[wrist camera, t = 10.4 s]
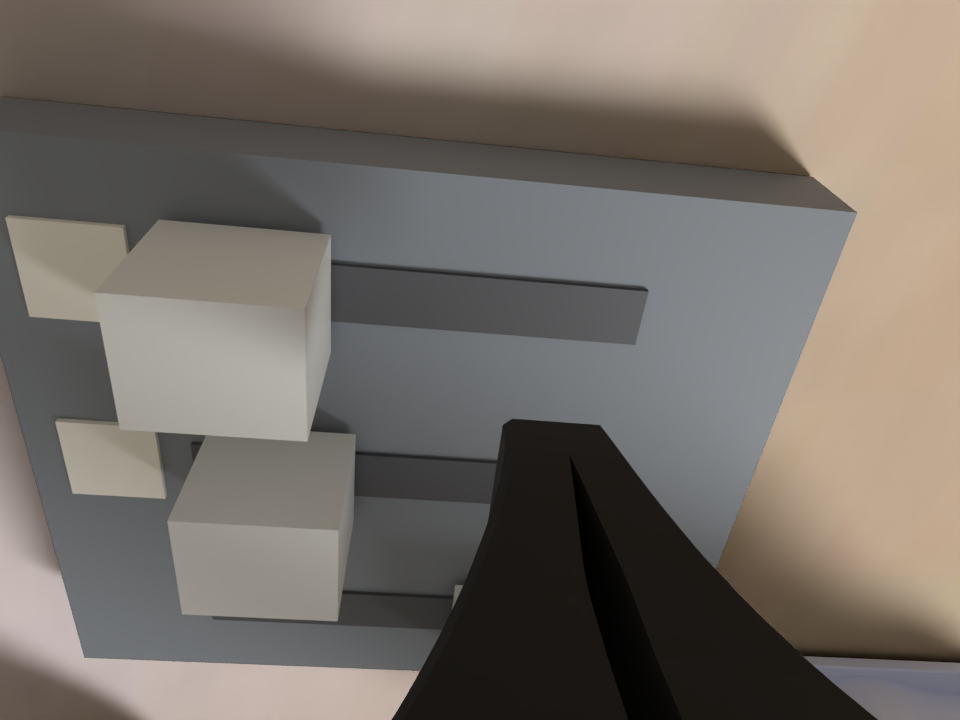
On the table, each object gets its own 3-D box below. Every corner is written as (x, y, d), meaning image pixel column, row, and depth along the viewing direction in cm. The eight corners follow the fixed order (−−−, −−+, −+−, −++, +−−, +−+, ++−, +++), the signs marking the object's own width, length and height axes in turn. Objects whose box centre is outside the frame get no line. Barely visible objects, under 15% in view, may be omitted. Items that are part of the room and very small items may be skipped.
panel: (812, 177, 15) (860, 214, 14) (655, 621, 23) (672, 684, 21) (-1, 95, 14) (-67, 126, 12) (113, 597, 21) (82, 661, 20)
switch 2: (355, 434, 16) (338, 530, 13) (353, 520, 17) (337, 621, 15) (210, 424, 16) (166, 521, 13) (219, 512, 17) (181, 614, 14)
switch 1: (331, 234, 13) (304, 309, 11) (330, 352, 15) (307, 441, 12) (158, 219, 13) (94, 292, 11) (173, 340, 14) (120, 429, 12)
